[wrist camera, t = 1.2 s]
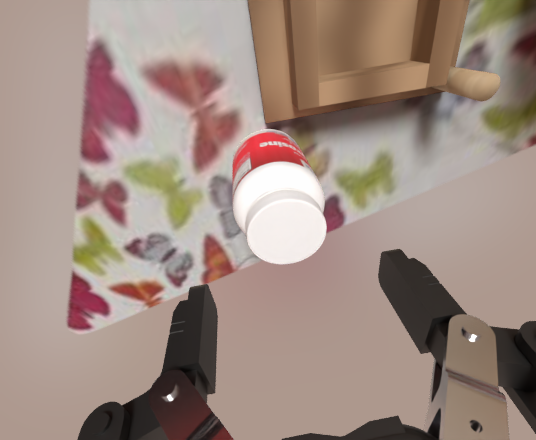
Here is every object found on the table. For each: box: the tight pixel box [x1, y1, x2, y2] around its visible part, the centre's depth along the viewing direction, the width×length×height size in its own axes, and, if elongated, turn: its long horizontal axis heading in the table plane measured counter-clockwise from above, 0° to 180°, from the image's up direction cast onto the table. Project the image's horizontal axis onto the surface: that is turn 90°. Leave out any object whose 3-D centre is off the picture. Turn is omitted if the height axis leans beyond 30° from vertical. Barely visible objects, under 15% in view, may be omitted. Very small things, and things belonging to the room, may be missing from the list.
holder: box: [248, 0, 500, 123], centre depth 17 cm, size 15×13×6 cm
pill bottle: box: [233, 129, 327, 264], centre depth 21 cm, size 6×6×11 cm
